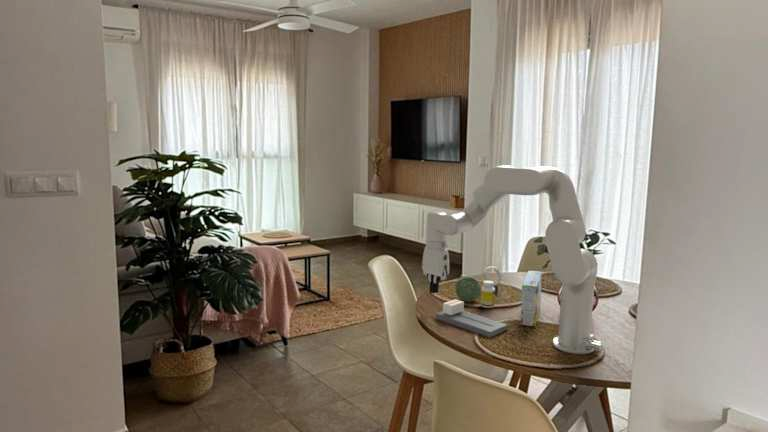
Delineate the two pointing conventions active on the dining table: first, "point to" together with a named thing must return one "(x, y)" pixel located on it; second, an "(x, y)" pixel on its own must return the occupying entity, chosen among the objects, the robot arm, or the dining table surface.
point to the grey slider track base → (473, 323)
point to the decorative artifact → (467, 288)
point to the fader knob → (453, 307)
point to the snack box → (531, 298)
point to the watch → (497, 275)
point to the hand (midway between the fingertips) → (433, 292)
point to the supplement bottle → (487, 294)
